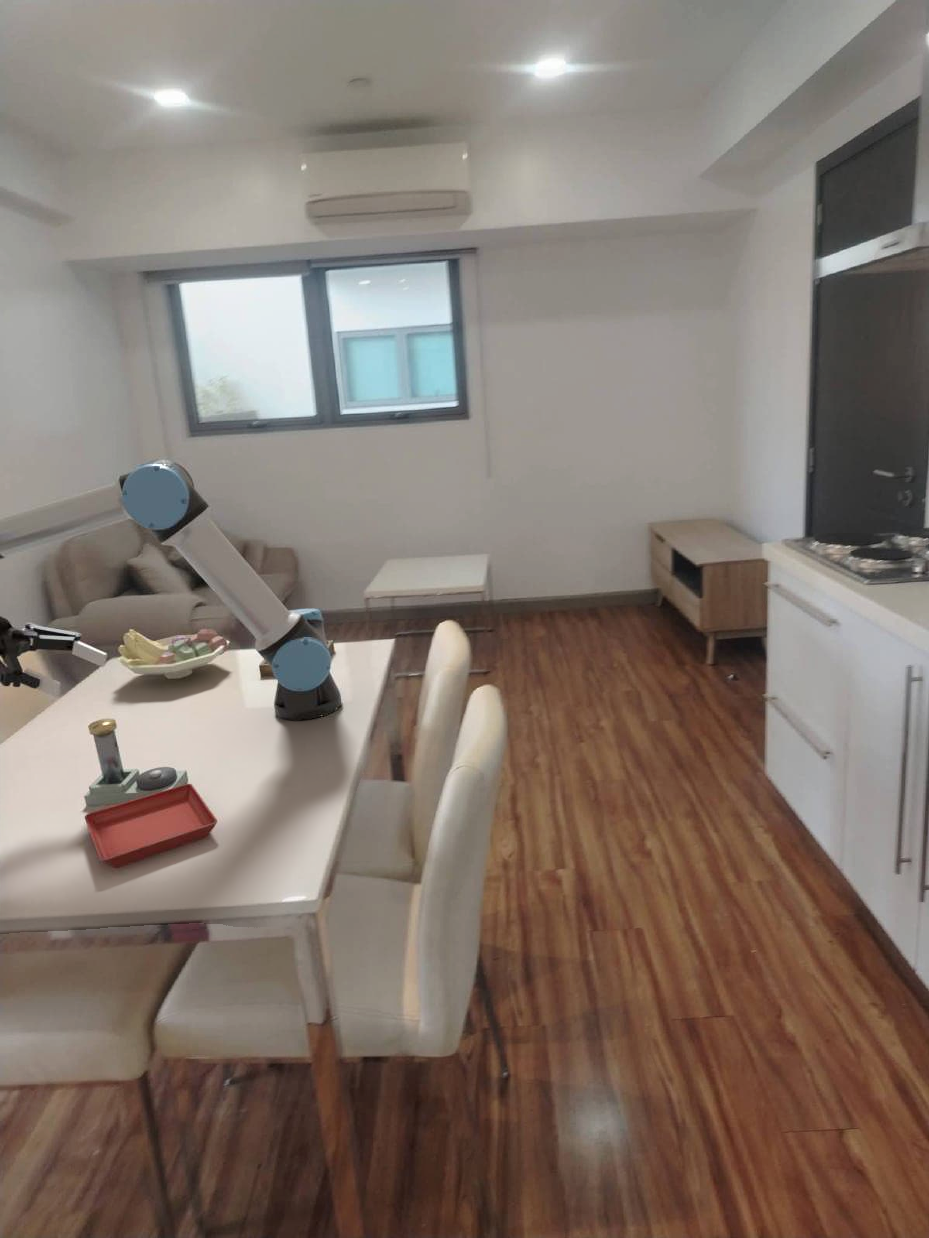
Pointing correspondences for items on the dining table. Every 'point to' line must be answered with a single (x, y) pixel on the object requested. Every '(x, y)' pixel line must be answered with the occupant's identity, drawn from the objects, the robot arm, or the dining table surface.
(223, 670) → the dining table surface
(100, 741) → the pin
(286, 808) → the dining table surface
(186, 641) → the dish with food
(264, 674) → the wooden tray
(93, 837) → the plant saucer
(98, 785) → the base
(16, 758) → the dining table surface
